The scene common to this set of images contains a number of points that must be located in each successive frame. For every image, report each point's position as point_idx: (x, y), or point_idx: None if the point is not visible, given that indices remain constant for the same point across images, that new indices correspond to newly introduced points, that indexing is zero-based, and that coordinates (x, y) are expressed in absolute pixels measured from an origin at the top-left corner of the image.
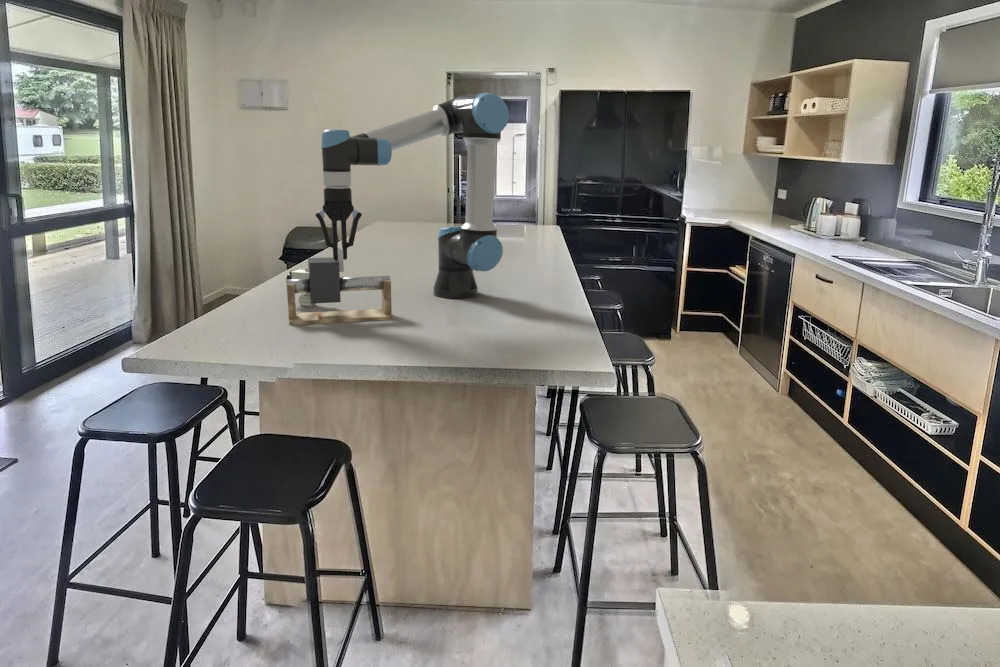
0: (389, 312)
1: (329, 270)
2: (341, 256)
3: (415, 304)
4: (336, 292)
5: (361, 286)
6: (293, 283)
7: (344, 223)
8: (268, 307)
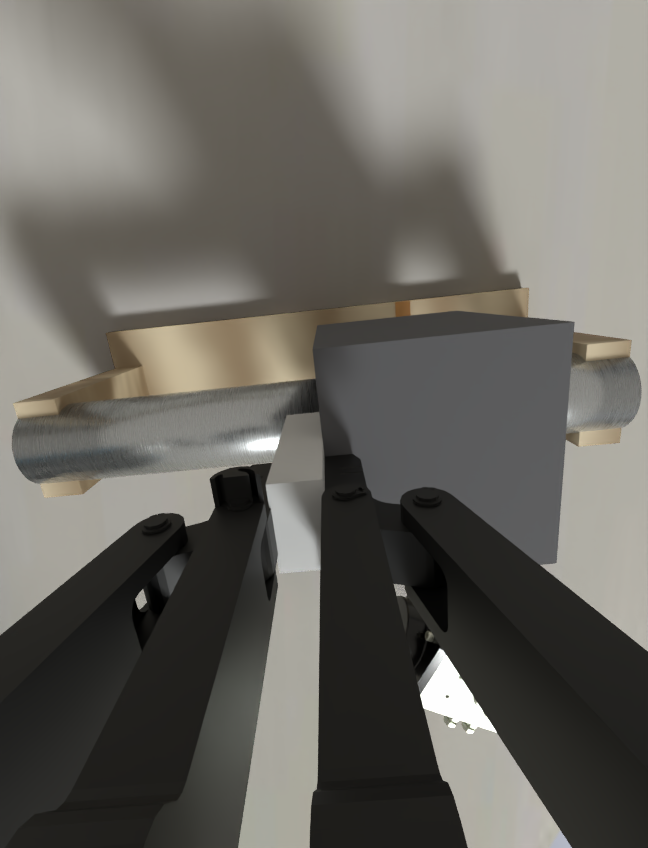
0: (119, 368)
1: (388, 334)
2: (290, 454)
3: (50, 561)
4: (336, 326)
5: (198, 390)
6: (591, 362)
7: (72, 824)
8: (575, 569)
